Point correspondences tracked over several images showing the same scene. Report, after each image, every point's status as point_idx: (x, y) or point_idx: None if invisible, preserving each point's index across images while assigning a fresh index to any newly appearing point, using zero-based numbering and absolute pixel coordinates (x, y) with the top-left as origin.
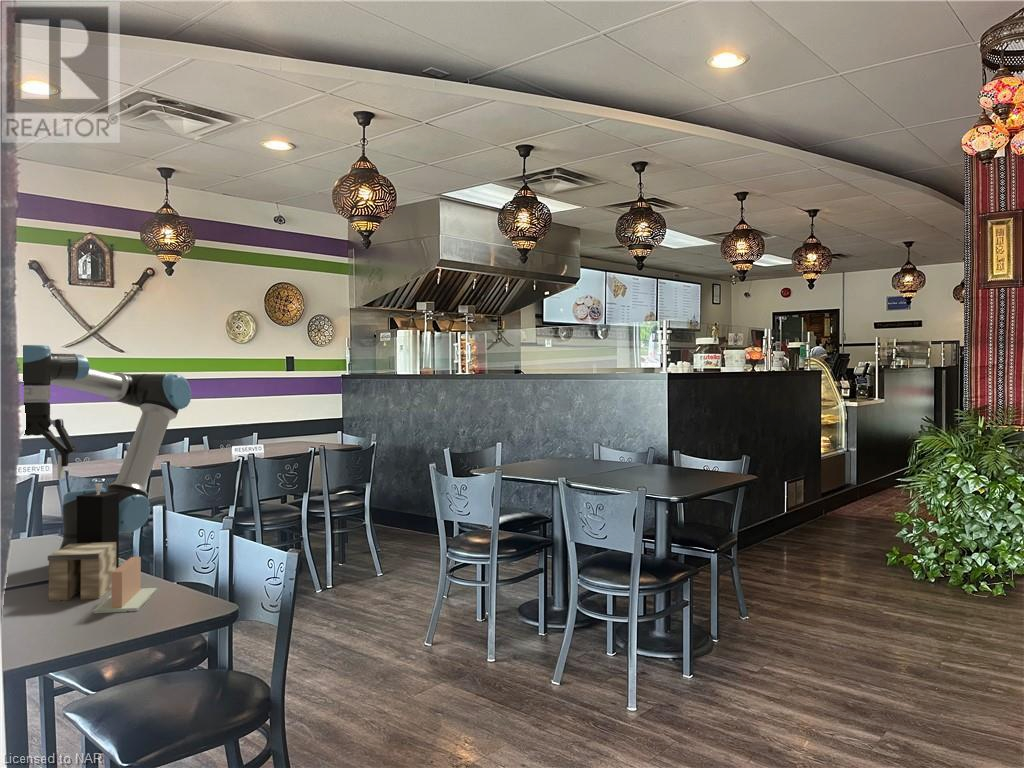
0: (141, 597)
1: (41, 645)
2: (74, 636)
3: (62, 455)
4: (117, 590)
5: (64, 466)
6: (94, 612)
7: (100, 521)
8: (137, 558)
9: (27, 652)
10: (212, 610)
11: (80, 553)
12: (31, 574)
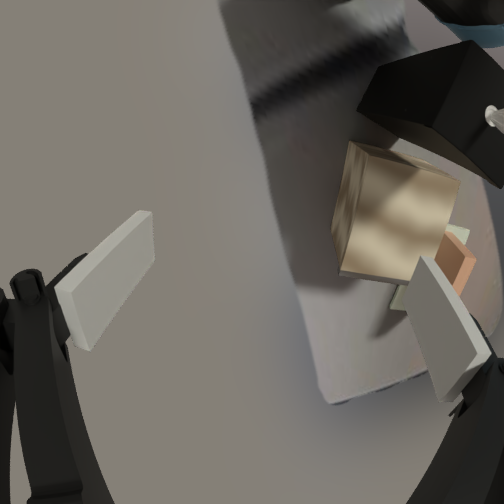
0: None
1: (339, 376)
2: (366, 365)
3: (464, 387)
4: None
5: (457, 295)
6: (390, 306)
7: (456, 162)
8: (470, 270)
9: (329, 386)
10: (485, 326)
11: (395, 272)
12: (250, 19)
